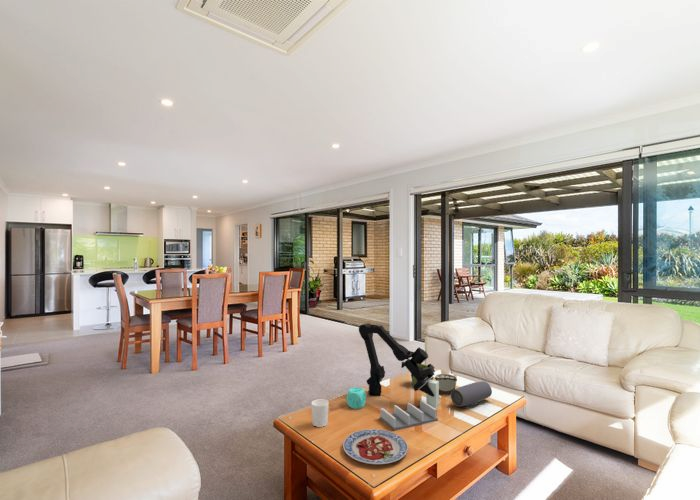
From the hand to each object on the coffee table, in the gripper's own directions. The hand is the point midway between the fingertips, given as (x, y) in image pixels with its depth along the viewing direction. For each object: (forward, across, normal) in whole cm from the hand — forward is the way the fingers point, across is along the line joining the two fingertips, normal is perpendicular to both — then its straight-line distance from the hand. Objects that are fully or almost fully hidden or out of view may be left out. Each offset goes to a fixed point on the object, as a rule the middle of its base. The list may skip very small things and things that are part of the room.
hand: (435, 394), depth 182 cm
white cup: (-23, -45, +33) cm, 61 cm away
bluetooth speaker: (+15, +15, -6) cm, 22 cm away
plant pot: (-8, +26, +18) cm, 33 cm away
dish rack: (0, -20, +10) cm, 22 cm away
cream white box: (+4, 0, +6) cm, 7 cm away
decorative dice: (-20, -19, +30) cm, 41 cm away
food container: (+4, +22, +6) cm, 23 cm away
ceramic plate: (-1, -51, +11) cm, 52 cm away
